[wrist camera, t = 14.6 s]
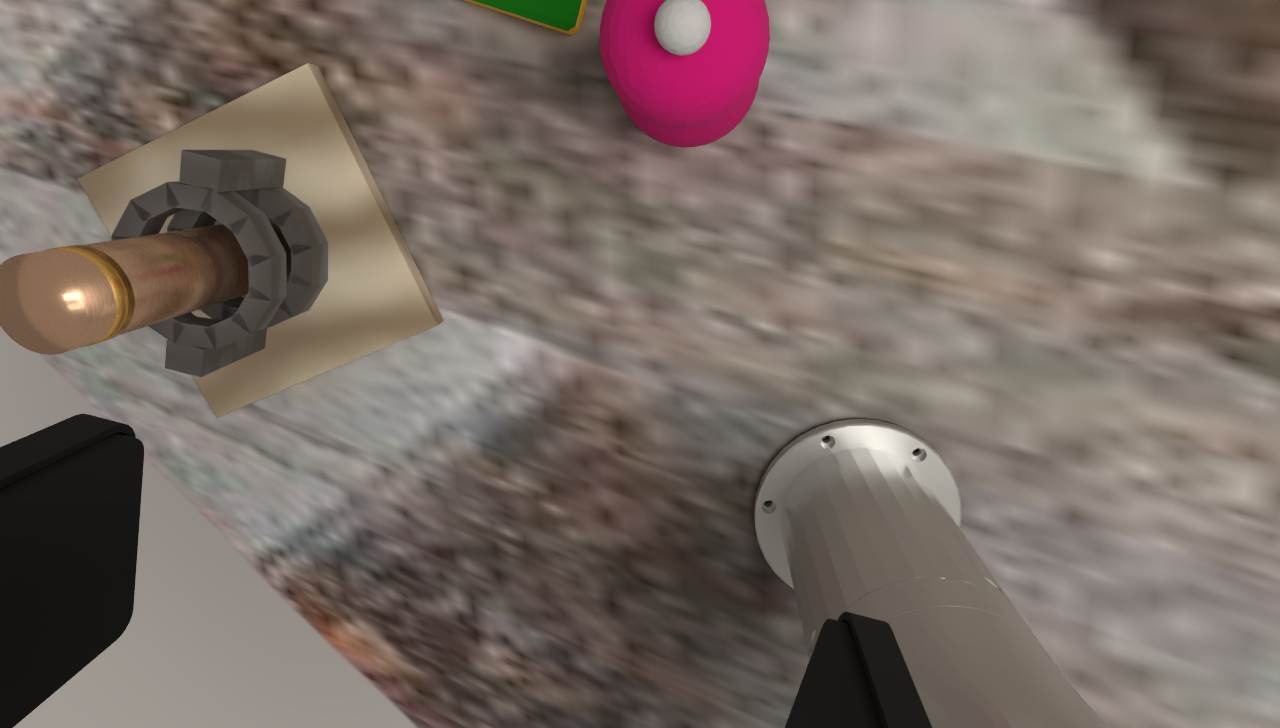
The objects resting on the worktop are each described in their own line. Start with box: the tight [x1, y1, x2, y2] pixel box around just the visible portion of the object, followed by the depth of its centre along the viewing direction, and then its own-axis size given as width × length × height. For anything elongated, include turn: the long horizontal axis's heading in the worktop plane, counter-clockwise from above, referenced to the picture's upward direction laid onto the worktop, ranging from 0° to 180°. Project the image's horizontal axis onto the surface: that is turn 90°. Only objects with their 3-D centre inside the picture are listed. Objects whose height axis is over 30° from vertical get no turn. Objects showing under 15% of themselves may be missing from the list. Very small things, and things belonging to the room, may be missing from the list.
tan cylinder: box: [0, 222, 291, 355], centre depth 38 cm, size 4×4×16 cm
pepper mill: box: [599, 0, 770, 147], centre depth 33 cm, size 7×7×20 cm
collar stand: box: [78, 63, 443, 418], centre depth 43 cm, size 16×16×8 cm
